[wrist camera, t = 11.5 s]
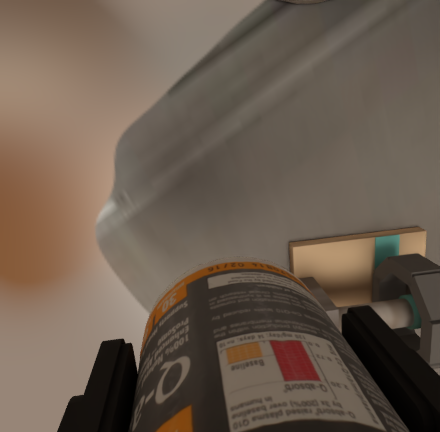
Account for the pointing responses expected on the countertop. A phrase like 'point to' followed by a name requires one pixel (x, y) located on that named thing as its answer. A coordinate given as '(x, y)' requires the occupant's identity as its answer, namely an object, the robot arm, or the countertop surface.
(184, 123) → the countertop surface
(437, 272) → the octagonal nut
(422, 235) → the rail
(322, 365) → the pill bottle
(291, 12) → the countertop surface
